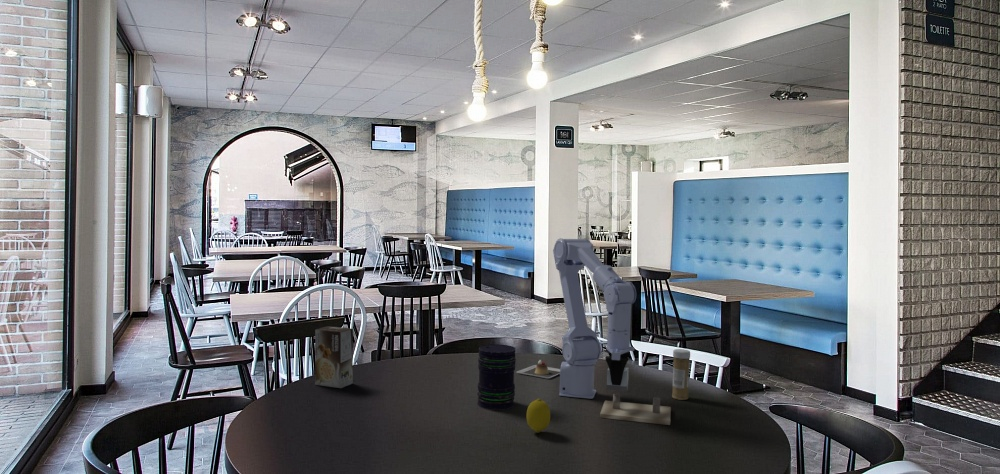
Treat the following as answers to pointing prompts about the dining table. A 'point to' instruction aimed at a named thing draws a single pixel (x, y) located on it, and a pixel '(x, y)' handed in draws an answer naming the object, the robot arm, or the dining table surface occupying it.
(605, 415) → the pin board
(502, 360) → the storage jar
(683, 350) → the sprinkles bottle
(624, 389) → the sleeve
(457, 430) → the dining table surface
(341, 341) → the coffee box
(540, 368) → the dessert
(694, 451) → the dining table surface
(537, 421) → the lemon
